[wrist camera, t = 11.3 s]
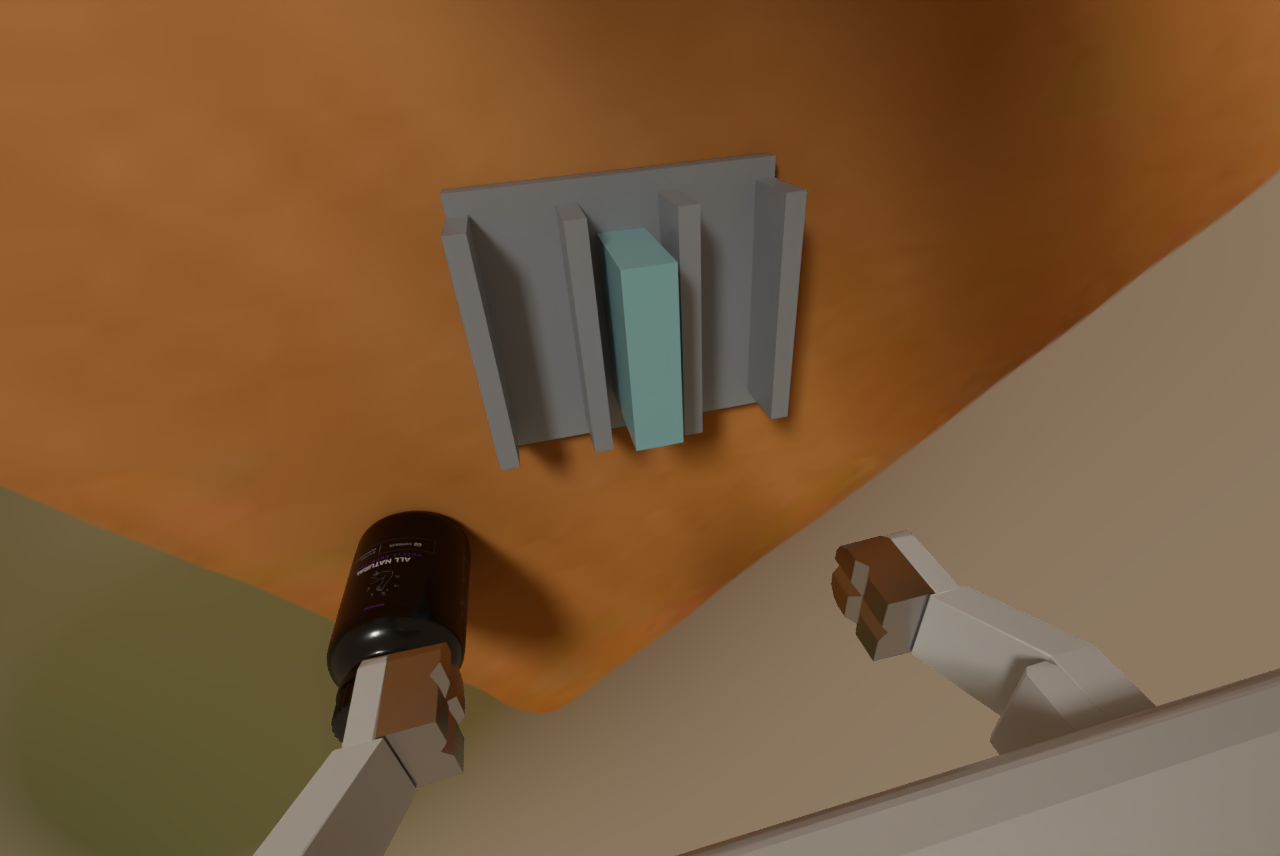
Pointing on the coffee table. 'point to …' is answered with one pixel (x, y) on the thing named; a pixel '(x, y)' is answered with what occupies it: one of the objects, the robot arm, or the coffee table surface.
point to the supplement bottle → (400, 598)
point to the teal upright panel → (643, 334)
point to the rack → (573, 295)
